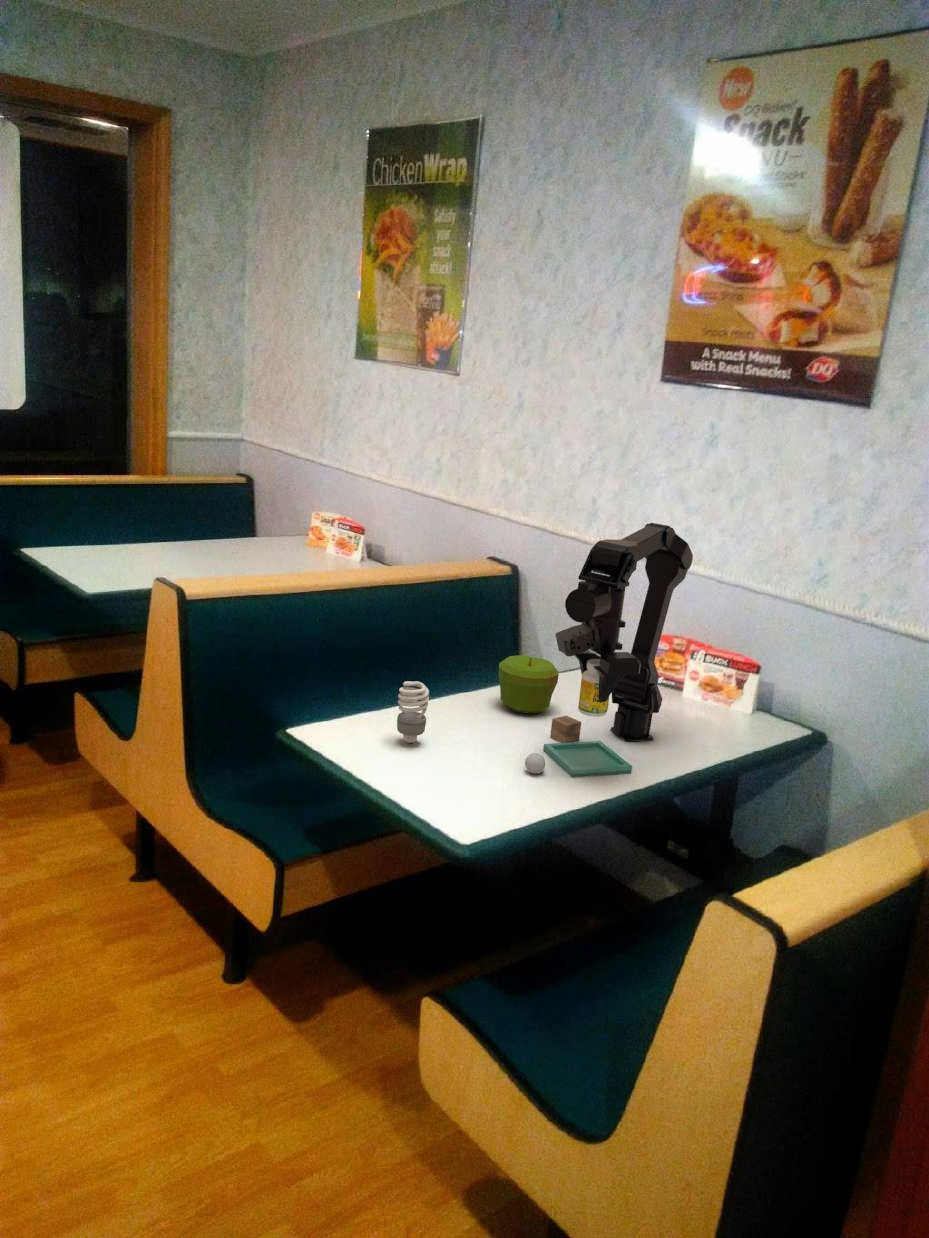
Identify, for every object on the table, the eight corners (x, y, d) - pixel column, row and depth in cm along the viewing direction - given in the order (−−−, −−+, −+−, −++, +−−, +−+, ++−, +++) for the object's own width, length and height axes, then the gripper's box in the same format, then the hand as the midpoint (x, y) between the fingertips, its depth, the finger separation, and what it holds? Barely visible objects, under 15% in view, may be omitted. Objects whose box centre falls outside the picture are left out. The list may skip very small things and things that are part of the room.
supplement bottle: (594, 705, 180) (600, 656, 177) (613, 715, 175) (620, 664, 173) (571, 709, 177) (577, 658, 174) (590, 719, 172) (597, 667, 170)
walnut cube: (564, 734, 191) (566, 715, 190) (579, 741, 189) (581, 722, 188) (549, 737, 189) (552, 718, 188) (564, 745, 186) (567, 725, 185)
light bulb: (430, 742, 181) (435, 681, 178) (416, 751, 176) (421, 688, 173) (403, 735, 183) (408, 674, 180) (388, 744, 178) (393, 682, 175)
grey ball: (538, 767, 174) (541, 749, 173) (547, 776, 170) (549, 757, 170) (520, 769, 172) (522, 750, 171) (529, 777, 169) (531, 758, 168)
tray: (599, 747, 186) (600, 740, 186) (631, 773, 175) (632, 766, 175) (543, 750, 182) (543, 743, 181) (572, 777, 171) (572, 770, 170)
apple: (483, 702, 205) (488, 651, 202) (527, 695, 212) (533, 646, 209) (520, 722, 195) (527, 669, 192) (565, 714, 202) (572, 663, 200)
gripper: (542, 599, 177) (532, 680, 181) (589, 628, 160) (578, 716, 164) (596, 599, 181) (586, 679, 185) (647, 627, 164) (635, 714, 168)
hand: (594, 696), depth 175 cm, fingers closed on supplement bottle, 5 cm apart
